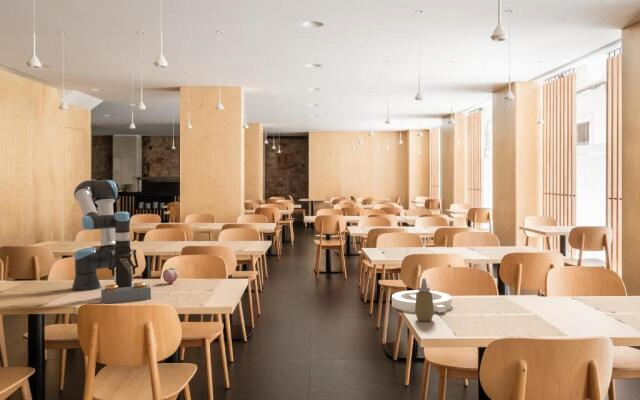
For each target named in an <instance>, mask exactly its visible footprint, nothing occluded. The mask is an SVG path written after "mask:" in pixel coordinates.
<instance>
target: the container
mask: <svg viewBox="0 0 640 400" xmlns="http://www.w3.org/2000/svg"><path fill="white" fill-rule="evenodd" d="M132 254H133V253H132V252H130V253H128V254H125V253H122V254H115V255H114V257H115V258H116V267H115V270H116V282H115V285H118V288H123V287H133V283H132V282H133V281H132V277H131V268H132V266H131V261H132V259H131V257H132Z"/></svg>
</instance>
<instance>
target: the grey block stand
mask: <svg viewBox="0 0 640 400" xmlns="http://www.w3.org/2000/svg"><path fill="white" fill-rule="evenodd" d="M151 290H152V289H151V286H150V285H149V284H146V286H145V288H138V289H135V287H134V286H132V287H123V288H117V291H107V289H105V288H104V289H101V290H100V294H101V296H100V297H101V304H102V303H107V304H113V303H114V304H115V303H123V302H125V303H126V302H132V301H135V302H137V301H144V300H145V301H146V300H151V299H152V293H151Z"/></svg>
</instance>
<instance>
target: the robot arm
mask: <svg viewBox="0 0 640 400" xmlns="http://www.w3.org/2000/svg"><path fill="white" fill-rule="evenodd" d="M118 195H119V194H118V186H117V184H116V182H115V181H114V180H112V179H111V180H110V179H103V180H102V179H98V180H96V179H95V180H93V179H92V180H90V179H88V180H84V181H82V182H80V183H79V184H78V185H76V187H75V188H74V191H73V197H74V199H75V201H76V202H77V203H78V204H79V207H80V210H81V213H82V215H83V216H82V218H81V226H82V229H83V230H85V231H86V230H87V231H88V230H90V231H92V230H99V235H100V244H99V246H98V249H96V247H95V246H93V247H86V248H81V249H80V248H79V249H78V250H76V251H75V252H74V258H73V260H74V274H75V275H74V279H73V284H72V288H71V289H72V290H73V289H74V290H73V291H89V290H90V289H91V290H96V289H100V288H101V282H100V280H99V277H98V274H97V272H98V271H97V270H101V269H108V270H111V276H112V277H114V280H113V282H114V283H116V258H115V257H114V255H115V254H122V253H125V254H128V253H131V254H133V259H134V263H133V261H132V260H131V277H132V282H133V281H134V275H136V268H139V263H138V257H137V250H136V249H131V240H130V239H131V232H130V231H131V229H130V218H131V217H130V213H129V211H117V212H114V203H115V202H116V199H118ZM95 204H96V205H97V208H96V206H95ZM134 264H135V265H134ZM91 290H90V291H91Z"/></svg>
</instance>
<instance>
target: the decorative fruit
mask: <svg viewBox="0 0 640 400" xmlns="http://www.w3.org/2000/svg"><path fill="white" fill-rule="evenodd" d="M178 277H179V272H178V268H175V267H172V268H171V267H170V268H166V269H165V270H163V273H162V278H163V280H164V281H165V282H166V283H168V284H170V283H171V284H172V283H174V282H175V281H176V280H177V279H178Z"/></svg>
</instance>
